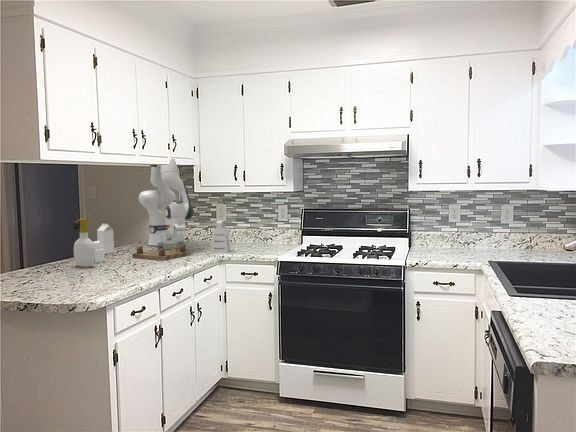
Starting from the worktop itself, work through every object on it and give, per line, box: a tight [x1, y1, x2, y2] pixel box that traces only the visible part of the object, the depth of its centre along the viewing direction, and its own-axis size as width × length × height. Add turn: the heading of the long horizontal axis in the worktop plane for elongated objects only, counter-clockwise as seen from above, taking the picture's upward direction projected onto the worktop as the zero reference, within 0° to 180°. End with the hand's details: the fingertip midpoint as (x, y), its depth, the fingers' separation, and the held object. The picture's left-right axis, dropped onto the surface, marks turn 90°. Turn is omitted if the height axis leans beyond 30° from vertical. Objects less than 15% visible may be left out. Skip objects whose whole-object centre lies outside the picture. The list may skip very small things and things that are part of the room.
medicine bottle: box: [91, 240, 106, 264], centre depth 275 cm, size 7×7×12 cm
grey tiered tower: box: [210, 220, 232, 254], centre depth 311 cm, size 10×10×20 cm
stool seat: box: [131, 244, 191, 262], centre depth 293 cm, size 24×24×6 cm
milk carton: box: [96, 223, 115, 255], centre depth 305 cm, size 7×7×19 cm
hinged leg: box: [157, 242, 185, 250], centre depth 304 cm, size 17×4×4 cm, turn 80°
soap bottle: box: [73, 218, 95, 268], centre depth 260 cm, size 14×9×26 cm, turn 59°
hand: (178, 247), depth 307 cm, fingers closed
